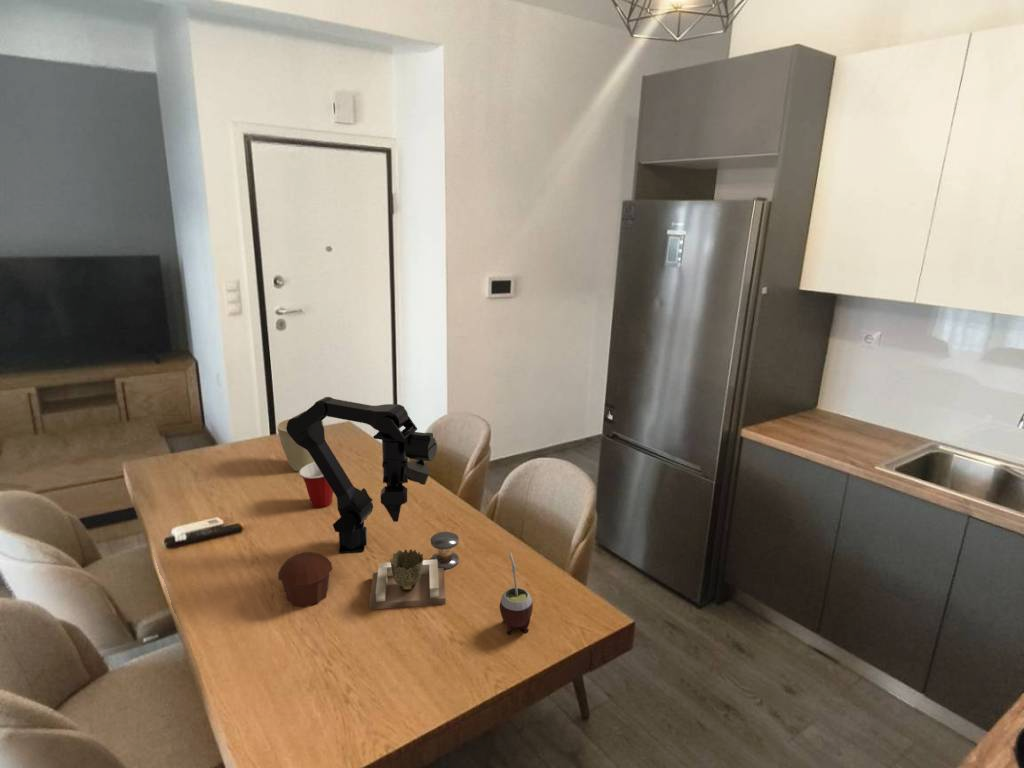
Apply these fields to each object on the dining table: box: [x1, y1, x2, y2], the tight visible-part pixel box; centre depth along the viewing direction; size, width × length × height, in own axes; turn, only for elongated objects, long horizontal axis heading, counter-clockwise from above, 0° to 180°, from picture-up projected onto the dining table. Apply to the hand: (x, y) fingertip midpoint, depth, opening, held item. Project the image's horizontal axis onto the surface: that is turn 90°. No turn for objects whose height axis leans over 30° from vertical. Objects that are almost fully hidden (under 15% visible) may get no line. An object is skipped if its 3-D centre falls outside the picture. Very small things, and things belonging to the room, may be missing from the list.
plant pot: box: [276, 418, 325, 472], centre depth 200 cm, size 15×15×16 cm
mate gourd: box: [499, 551, 534, 636], centre depth 125 cm, size 8×8×15 cm
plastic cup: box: [298, 462, 334, 509], centre depth 176 cm, size 11×11×12 cm
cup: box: [389, 549, 424, 591], centre depth 135 cm, size 8×7×8 cm
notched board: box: [368, 559, 447, 611], centre depth 137 cm, size 17×12×4 cm
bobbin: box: [430, 531, 460, 570], centre depth 148 cm, size 7×7×6 cm
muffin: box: [277, 551, 333, 608], centre depth 134 cm, size 12×11×10 cm
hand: (396, 512), depth 149 cm, fingers open, 9 cm apart
